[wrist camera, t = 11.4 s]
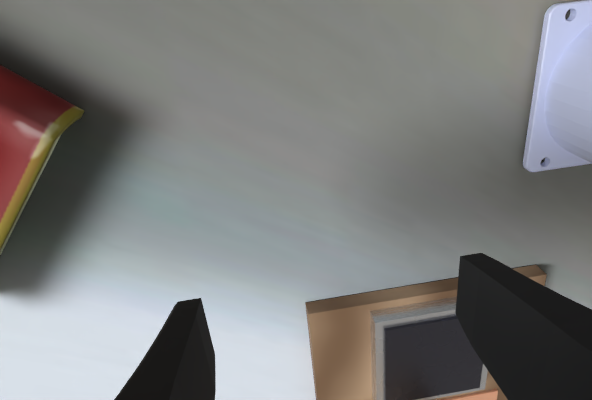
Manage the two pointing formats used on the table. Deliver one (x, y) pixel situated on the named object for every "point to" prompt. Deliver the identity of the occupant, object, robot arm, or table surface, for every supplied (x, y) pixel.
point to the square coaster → (476, 396)
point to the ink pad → (422, 353)
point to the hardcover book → (26, 141)
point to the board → (368, 335)
